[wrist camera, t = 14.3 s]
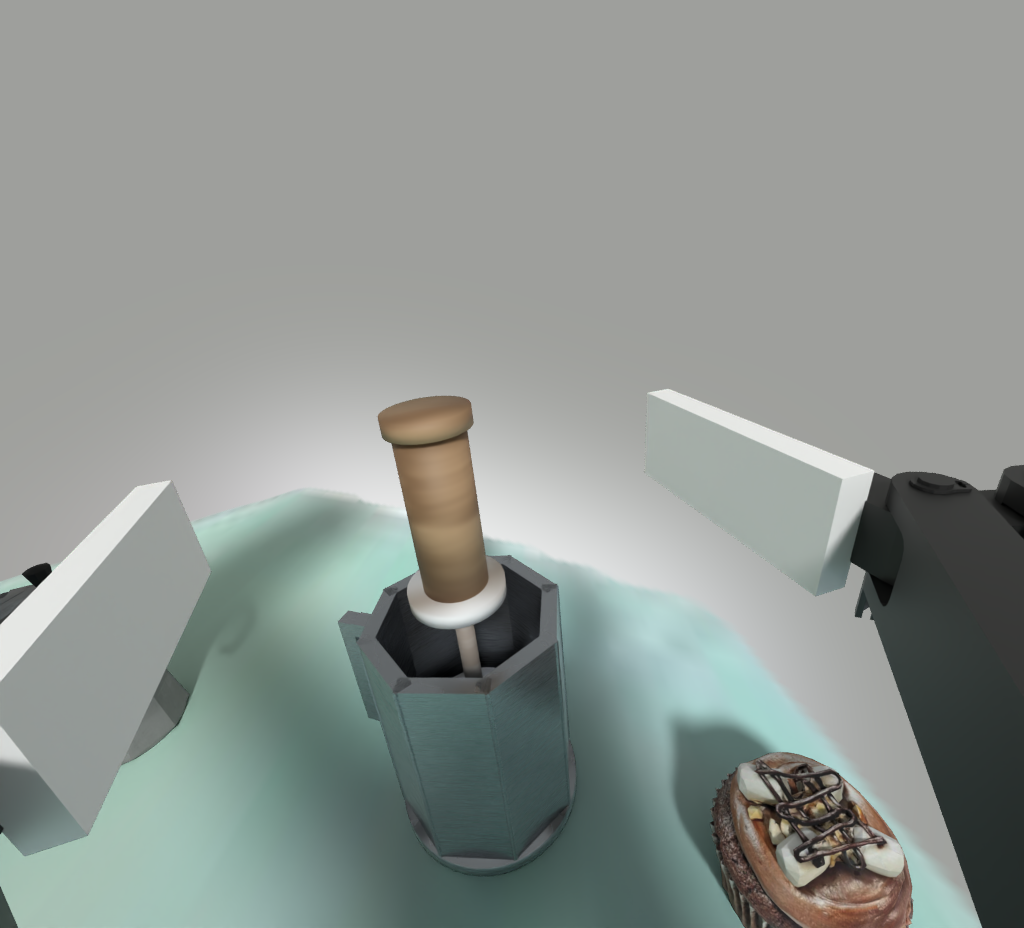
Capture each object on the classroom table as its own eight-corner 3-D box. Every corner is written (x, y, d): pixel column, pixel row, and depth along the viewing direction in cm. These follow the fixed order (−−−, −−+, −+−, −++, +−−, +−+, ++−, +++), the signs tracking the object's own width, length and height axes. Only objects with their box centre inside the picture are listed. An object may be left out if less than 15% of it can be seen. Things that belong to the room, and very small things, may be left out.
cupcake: (941, 969, 25) (1002, 861, 21) (780, 1040, 23) (812, 939, 19) (799, 788, 33) (823, 686, 29) (675, 830, 32) (682, 729, 28)
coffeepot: (21, 771, 41) (-112, 607, 33) (117, 680, 49) (28, 534, 42) (176, 784, 38) (70, 610, 31) (250, 686, 47) (180, 532, 39)
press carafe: (364, 748, 39) (312, 596, 33) (488, 661, 46) (465, 522, 40) (471, 930, 28) (424, 753, 21) (612, 777, 35) (609, 610, 29)
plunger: (405, 719, 35) (321, 416, 25) (491, 658, 39) (448, 381, 29) (467, 804, 29) (389, 452, 19) (560, 721, 33) (533, 401, 24)
